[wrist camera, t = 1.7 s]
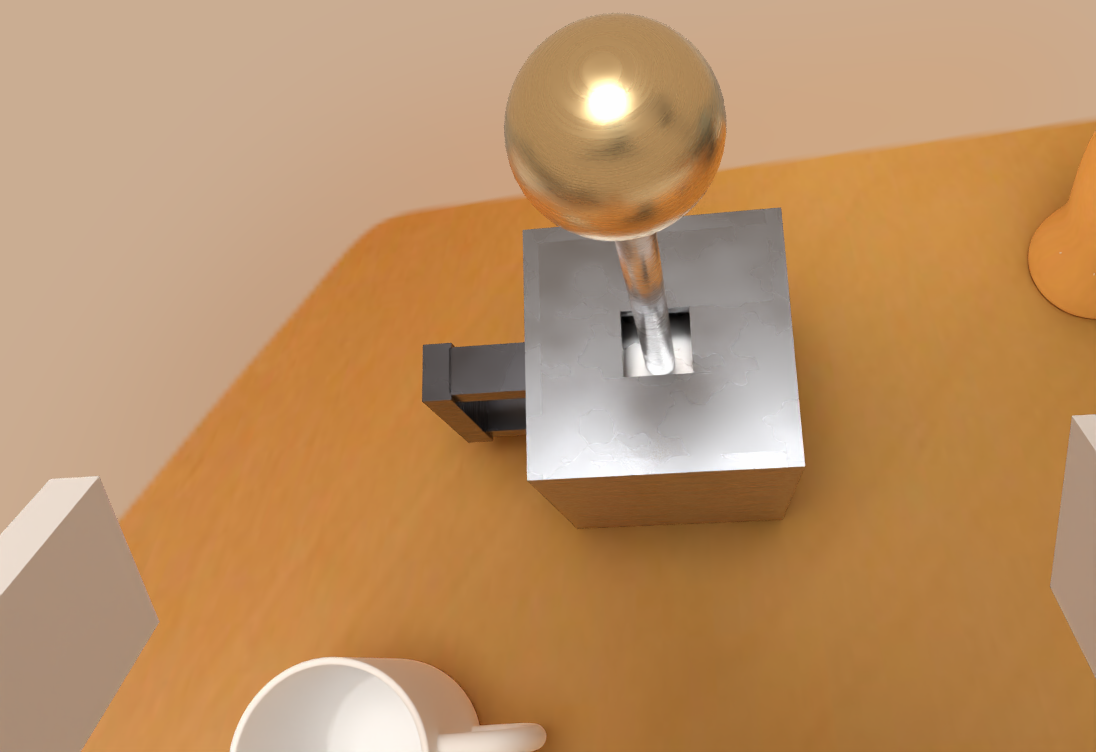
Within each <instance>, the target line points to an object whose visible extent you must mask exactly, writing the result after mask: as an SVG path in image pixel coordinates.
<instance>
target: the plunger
mask: <svg viewBox="0 0 1096 752" xmlns="http://www.w3.org/2000/svg"><path fill="white" fill-rule="evenodd" d="M504 136H505V147H506V151H507V156H508V160H509V164H510V167H511V169H512V172H513V174H514V177H515V179H516V181H517V182H518V184H519V186H520V188H521V189H522V191H523V193H524V194H525V196H526V197H527V198H528V200H529V201H530V202H531V203H532V205H533V206H534V207H535V208H536V209H537V210H538V211H540V212H541V213H542V214H543V215H544V216H545V217H546V218H547V219H549V220H550V221H551V222H553V223H554V224H556V225H557V226H559V227H561V228H563V229H565V230H567V231H569V232H571V233H574V234H577V235H579V236H582V237H585V238H590V239H594V240H601V241H615V244H616V248H617V252H618V256H619V260H620V264H621V268H622V273H623V277H624V281H625V285H626V289H627V293H628V297H629V301H630V305H631V309H632V313H633V316H624V317H622V336H623V358H624V377H637V376H652V375H667V374H683V373H693V359H692V344H691V328H690V313H689V312H678V313H668V307H667V301H666V294H665V287H664V280H663V273H662V267H661V260H660V253H659V246H658V239H657V232H659V231H661V230H663V229H665V228H667V227H668V226H670V225H672V224H674V223H675V222H676V221H678V220H679V219H680V218H682V217H683V216H684V215H685V214H686V213H687V212H689V211H690V210H691V209H692V208H693V207H694V206H695V205H696V204H697V203H698V201H699V200H700V199H701V198H702V197H703V195H704V194H705V192H706V191H707V189H708V188H709V186H710V185H711V183H712V181H713V179H714V176H715V174H716V172H717V170H718V168H719V165H720V162H721V158H722V155H723V151H724V144H725V138H726V112H725V106H724V99H723V96H722V93H721V89H720V86H719V84H718V81H717V79H716V77H715V75H714V73H713V71H712V69H711V67H710V65H709V64H708V62H707V61H706V60H705V58H704V57H703V55H702V54H701V53H700V52H699V50H697V48H696V47H695V46H694V45H693V44H692V43H691V42H690V41H689V40H687V39H686V38H685V37H684V36H683V35H681V34H680V33H678V32H677V31H675V30H674V29H672V28H670V27H669V26H667V25H665V24H663V23H661V22H658V21H656V20H653V19H650V18H647V17H644V16H638V15H633V14H621V13H611V14H601V15H595V16H590V17H587V18H584V19H581V20H578V21H576V22H573V23H571V24H569V25H567V26H565V27H563V28H562V29H560V30H558V31H557V32H555V33H554V34H552V35H551V36H550V37H548V38H547V39H546V40H545V41H543V42H542V43H541V44H540V45H539V46H538V47H537V48H536V49H535V50H534V51H533V53H532V54H531V55H530V56H529V57H528V59H527V61H526V62H525V63H524V65H523V66H522V68H521V69H520V71H519V73H518V75H517V77H516V79H515V81H514V83H513V86H512V89H511V91H510V94H509V98H508V102H507V107H506V111H505V123H504Z"/></svg>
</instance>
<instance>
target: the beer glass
mask: <svg viewBox="0 0 1096 752" xmlns="http://www.w3.org/2000/svg"><path fill="white" fill-rule="evenodd" d="M1028 265H1029V270H1030V274H1031V276H1032V279H1033V281H1034V283H1035V285H1036V286H1037V288H1038V289H1039V291H1040V292H1041V293H1042V294H1043V296H1044V297H1045V298H1046V299H1047V300H1048V301H1050V302H1051V303H1052V304H1053V305H1055V306H1056V307H1058V308H1059V309H1061V310H1063V311H1065V312H1067V313H1070V314H1072V315H1075V316H1079V317H1083V318H1089V319H1096V131H1095V132H1094V134H1093V136H1092V137H1091V139H1090V141H1089V143H1088V145H1087V148H1086V150H1085V152H1084V155H1083V157H1082V159H1081V162H1080V164H1079V167H1078V171H1077V174H1076V177H1075V180H1074V183H1073V187H1072V190H1071V193H1070V197H1069V199H1068V202H1067V204H1065V205H1064V206H1062V207H1061V208H1059V209H1058V210H1056V211H1055V212H1053V213H1052V214H1051V215H1050V216H1048V217H1047V218H1046V219H1045V220H1044V221H1043V222H1042V223H1041V224H1040V226H1039V227H1038V228H1037V230H1036V231H1035V233H1034V235H1033V237H1032V239H1031V242H1030V246H1029V251H1028Z"/></svg>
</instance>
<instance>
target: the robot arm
mask: <svg viewBox="0 0 1096 752" xmlns="http://www.w3.org/2000/svg"><path fill="white" fill-rule="evenodd" d="M1050 588H1051V590H1052V592H1053V594H1054V596H1055V598H1056V600H1057V602H1058V604H1059V606H1060V608H1061V610H1062V612H1063V614H1064V616H1065V618H1066V620H1067V622H1068V624H1069V626H1070V628H1071V630H1072V632H1073V634H1074V636H1075V638H1076V640H1077V642H1078V644H1079V646H1080V648H1081V650H1082V652H1083V654H1084V656H1085V658H1086V660H1087V662H1088V664H1089V666H1090V668H1091V670H1092V672H1093V674H1094V676H1095V678H1096V414H1093V415H1077V416H1072V420H1071V428H1070V436H1069V444H1068V451H1067V459H1066V467H1065V475H1064V482H1063V490H1062V498H1061V506H1060V514H1059V521H1058V529H1057V537H1056V545H1055V552H1054V560H1053V568H1052V576H1051V584H1050ZM158 623H159V620H158V617H157V615H156V612H155V610H154V608H153V605H152V603H151V600H150V598H149V595H148V593H147V591H146V588H145V586H144V583H143V581H142V579H141V576H140V574H139V571H138V569H137V566H136V564H135V562H134V559H133V557H132V554H131V552H130V549H129V547H128V545H127V542H126V540H125V537H124V535H123V532H122V530H121V528H120V525H119V523H118V520H117V518H116V516H115V513H114V511H113V508H112V506H111V503H110V501H109V499H108V496H107V494H106V491H105V489H104V486H103V484H102V482H101V479H100V477H99V476H93V477H77V478H61V479H50V480H49V481H48V482H47V483H46V484H45V486H44V487H43V488H42V489H41V490H40V491H39V492H38V493H37V494H36V496H35V497H34V498H33V499H32V500H31V501H30V502H29V503H28V505H27V506H26V507H25V508H24V509H23V510H22V511H21V512H20V513H19V515H18V516H17V517H16V518H15V519H14V520H13V521H12V523H11V524H10V525H9V526H8V527H7V528H6V529H5V530H4V531H3V532H2V534H1V535H0V752H81V750H82V749H83V747H84V745H85V744H86V742H87V740H88V739H89V737H90V736H91V734H92V732H93V731H94V729H95V727H96V726H97V724H98V722H99V721H100V719H101V717H102V716H103V714H104V712H105V711H106V709H107V707H108V706H109V704H110V702H111V701H112V699H113V698H114V696H115V694H116V693H117V691H118V689H119V688H120V686H121V684H122V683H123V681H124V679H125V678H126V676H127V674H128V673H129V671H130V669H131V668H132V666H133V665H134V663H135V661H136V660H137V658H138V656H139V655H140V653H141V651H142V650H143V648H144V646H145V645H146V643H147V641H148V640H149V638H150V636H151V635H152V633H153V632H154V630H155V628H156V627H157V625H158Z"/></svg>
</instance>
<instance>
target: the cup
mask: <svg viewBox="0 0 1096 752" xmlns="http://www.w3.org/2000/svg"><path fill="white" fill-rule="evenodd" d="M545 741H546V732H545V730H544V728H543V727H542V726H541V725H539V724H536V723H511V724H495V725H480V724H479V720H478V717H477V714H476V712H475V709H474V707H473V705H472V703H471V701H470V700H469V698H468V696H467V695H466V693H465V692H464V691H463V689H462V688H461V687H460V686H459V685H458V684H457V683H456V682H455V681H454V680H453V679H452V678H451V677H449V676H448V675H447V674H445V673H444V672H442V671H441V670H439V669H437V668H435V667H433V666H431V665H429V664H426V663H423V662H419V661H415V660H410V659H398V658H356V657H324V658H317V659H312V660H309V661H305V662H302V663H300V664H297V665H295V666H292V667H291V668H289V669H287V670H285V671H283V672H282V673H280V674H279V675H277V676H276V677H275V678H273V679H272V680H271V681H269V682H268V683H267V684H266V685H265V686H264V687H263V688H262V689H261V690H260V691H259V692H258V694H257V695H256V696H255V697H254V698H253V700H252V701H251V702H250V704H249V705H248V707H247V708H246V710H245V712H244V713H243V715H242V717H241V719H240V721H239V723H238V726H237V728H236V731H235V733H234V736H233V740H232V743H231V747H230V752H532V751H535V750H537V749H540V748H541V747H542V746H543V745H544V743H545Z"/></svg>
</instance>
